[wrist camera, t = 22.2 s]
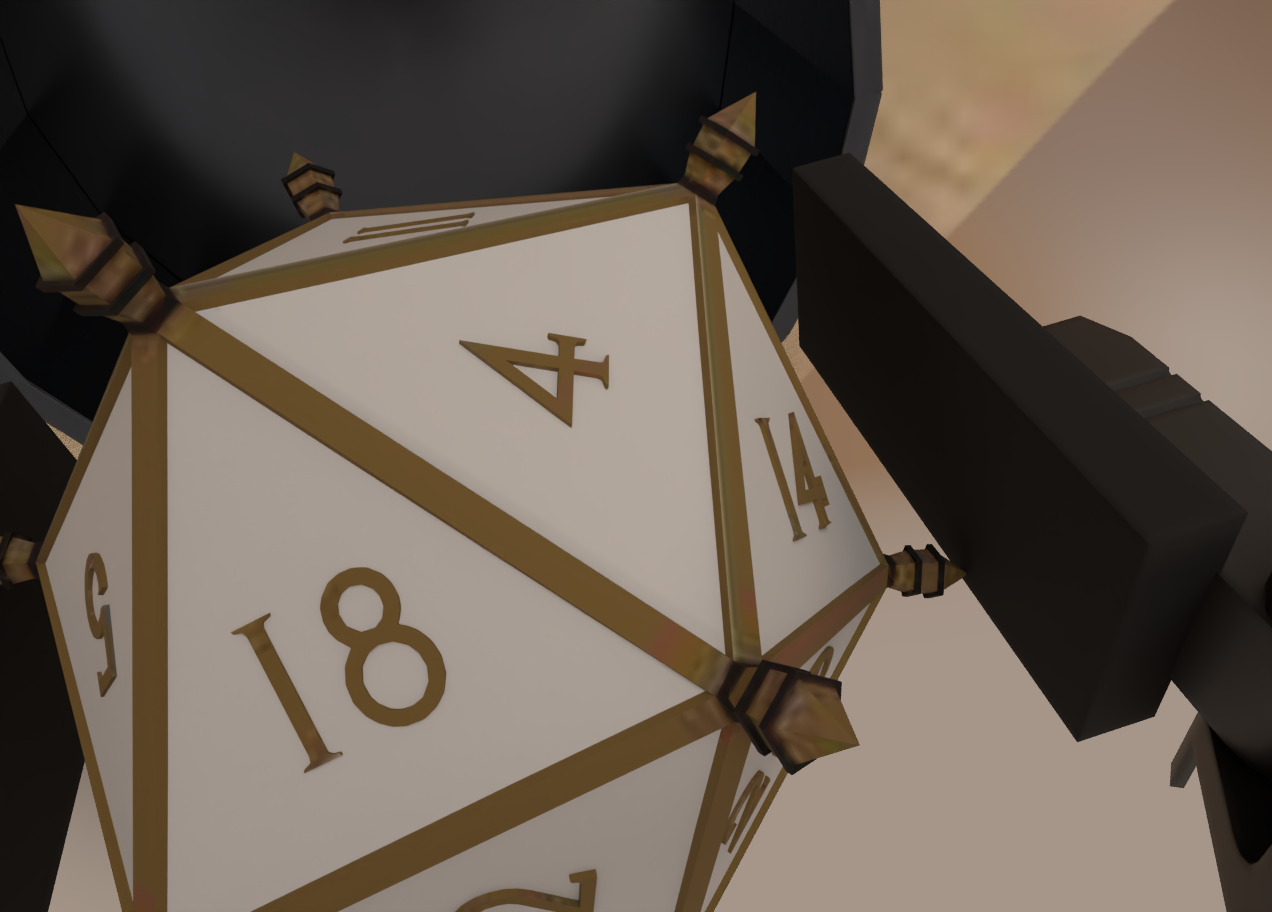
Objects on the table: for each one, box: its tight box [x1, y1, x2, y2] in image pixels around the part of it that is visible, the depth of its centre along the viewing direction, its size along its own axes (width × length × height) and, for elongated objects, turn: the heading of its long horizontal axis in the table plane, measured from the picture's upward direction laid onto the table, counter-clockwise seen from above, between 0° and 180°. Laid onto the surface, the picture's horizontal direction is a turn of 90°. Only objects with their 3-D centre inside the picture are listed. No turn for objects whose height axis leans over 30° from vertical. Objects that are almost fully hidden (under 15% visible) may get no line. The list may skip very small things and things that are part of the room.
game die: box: [0, 92, 966, 912], centre depth 9 cm, size 9×8×10 cm
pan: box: [0, 0, 883, 445], centre depth 18 cm, size 18×18×8 cm
